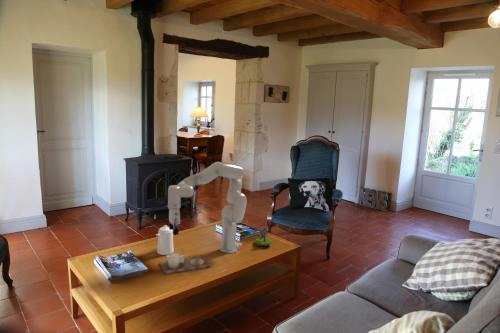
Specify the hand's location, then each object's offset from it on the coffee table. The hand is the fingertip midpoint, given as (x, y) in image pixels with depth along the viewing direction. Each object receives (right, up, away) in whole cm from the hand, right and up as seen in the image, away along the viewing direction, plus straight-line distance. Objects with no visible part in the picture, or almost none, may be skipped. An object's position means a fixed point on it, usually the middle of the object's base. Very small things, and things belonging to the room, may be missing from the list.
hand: (173, 231), depth 224 cm
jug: (+2, -21, -3) cm, 21 cm away
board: (+7, -21, 0) cm, 22 cm away
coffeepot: (-10, -17, +17) cm, 26 cm away
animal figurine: (+57, -17, +38) cm, 71 cm away
